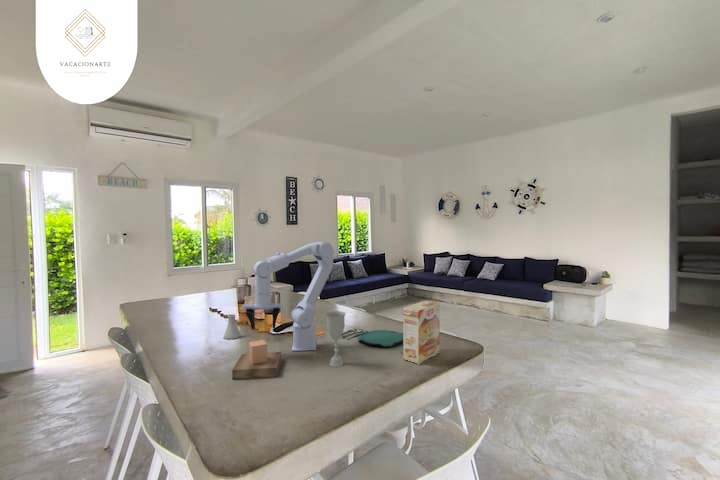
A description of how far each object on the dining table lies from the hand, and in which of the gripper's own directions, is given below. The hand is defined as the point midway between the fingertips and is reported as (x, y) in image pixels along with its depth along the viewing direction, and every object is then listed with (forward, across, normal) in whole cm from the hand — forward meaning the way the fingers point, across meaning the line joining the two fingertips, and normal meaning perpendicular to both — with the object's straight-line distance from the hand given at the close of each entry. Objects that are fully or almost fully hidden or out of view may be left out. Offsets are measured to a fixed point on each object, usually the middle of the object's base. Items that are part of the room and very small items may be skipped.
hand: (263, 328), depth 132 cm
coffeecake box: (+10, -59, +10) cm, 61 cm away
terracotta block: (+7, 0, +13) cm, 15 cm away
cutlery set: (+11, -44, -14) cm, 47 cm away
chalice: (+10, -27, +12) cm, 31 cm away
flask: (+11, +18, -24) cm, 32 cm away
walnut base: (+10, 0, +13) cm, 17 cm away
